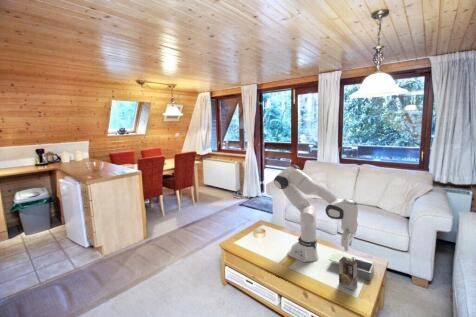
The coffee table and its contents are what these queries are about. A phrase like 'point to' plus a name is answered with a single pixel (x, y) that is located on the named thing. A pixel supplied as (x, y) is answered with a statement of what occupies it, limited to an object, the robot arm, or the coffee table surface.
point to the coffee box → (348, 273)
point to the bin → (365, 269)
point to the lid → (339, 257)
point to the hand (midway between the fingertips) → (347, 248)
